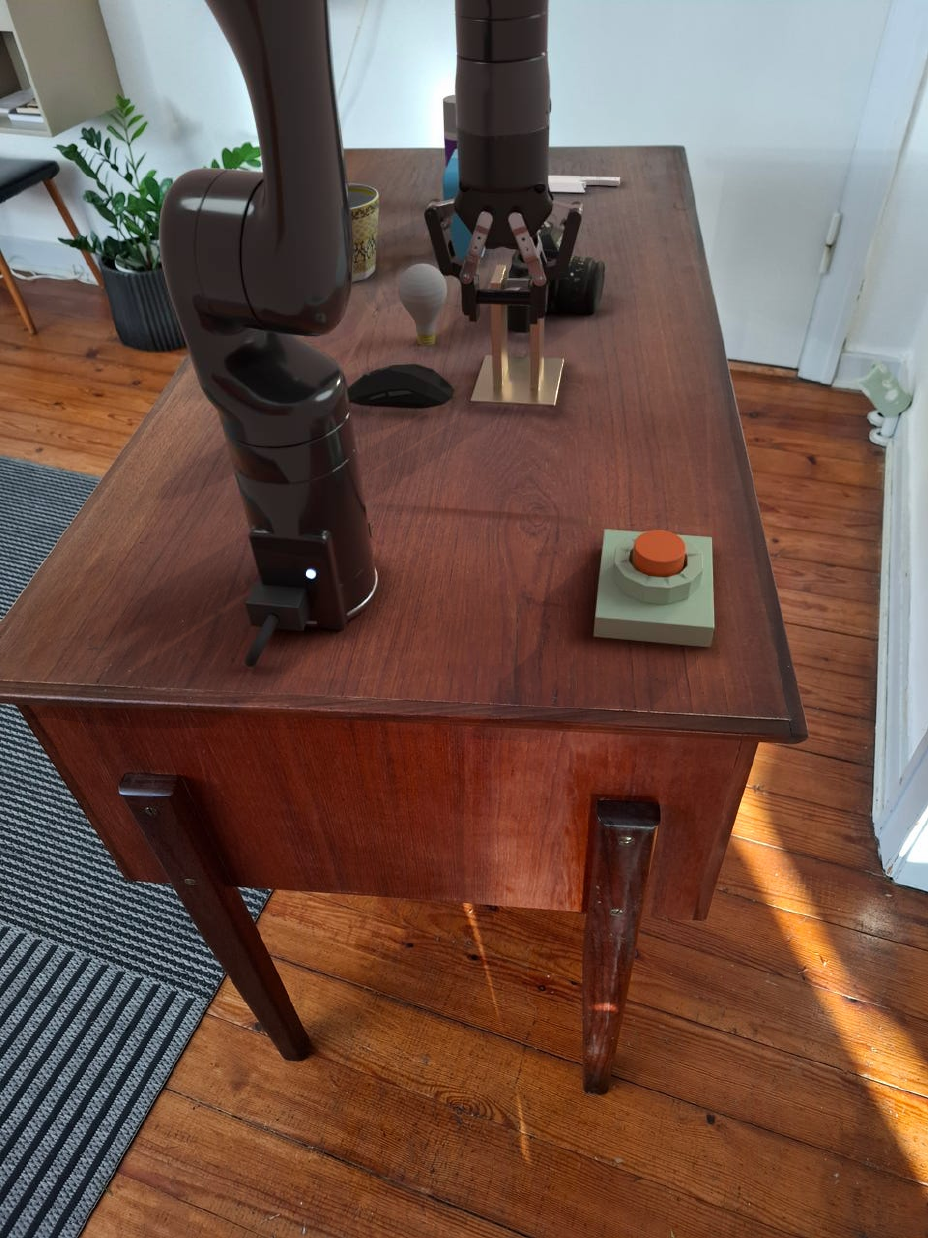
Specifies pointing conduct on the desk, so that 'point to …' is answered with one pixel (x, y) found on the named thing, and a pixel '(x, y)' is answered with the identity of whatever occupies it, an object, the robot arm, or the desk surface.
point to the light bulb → (423, 298)
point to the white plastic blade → (578, 183)
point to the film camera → (559, 282)
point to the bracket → (516, 363)
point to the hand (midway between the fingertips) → (504, 318)
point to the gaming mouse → (401, 387)
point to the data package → (457, 228)
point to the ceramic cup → (363, 228)
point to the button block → (655, 595)
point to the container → (449, 127)
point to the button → (659, 553)
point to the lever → (507, 293)
